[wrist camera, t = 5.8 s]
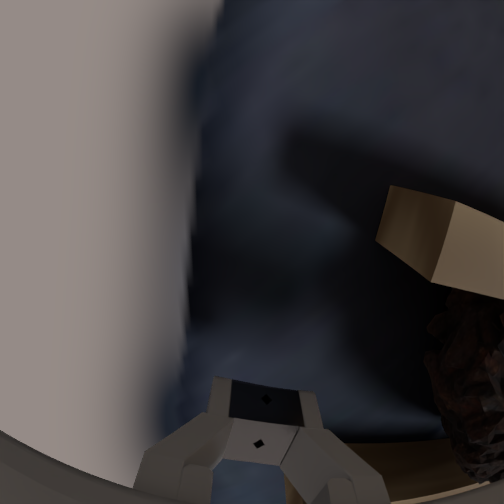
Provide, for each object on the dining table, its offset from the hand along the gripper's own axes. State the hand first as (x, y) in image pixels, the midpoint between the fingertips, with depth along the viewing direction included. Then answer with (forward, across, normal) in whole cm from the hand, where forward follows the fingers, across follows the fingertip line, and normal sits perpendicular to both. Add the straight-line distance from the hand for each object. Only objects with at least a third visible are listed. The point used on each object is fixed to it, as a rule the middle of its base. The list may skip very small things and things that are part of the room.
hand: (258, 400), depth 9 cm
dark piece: (+4, -16, 0) cm, 16 cm away
